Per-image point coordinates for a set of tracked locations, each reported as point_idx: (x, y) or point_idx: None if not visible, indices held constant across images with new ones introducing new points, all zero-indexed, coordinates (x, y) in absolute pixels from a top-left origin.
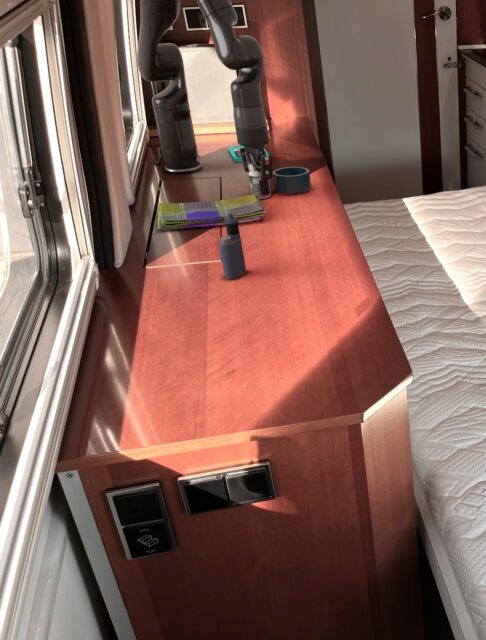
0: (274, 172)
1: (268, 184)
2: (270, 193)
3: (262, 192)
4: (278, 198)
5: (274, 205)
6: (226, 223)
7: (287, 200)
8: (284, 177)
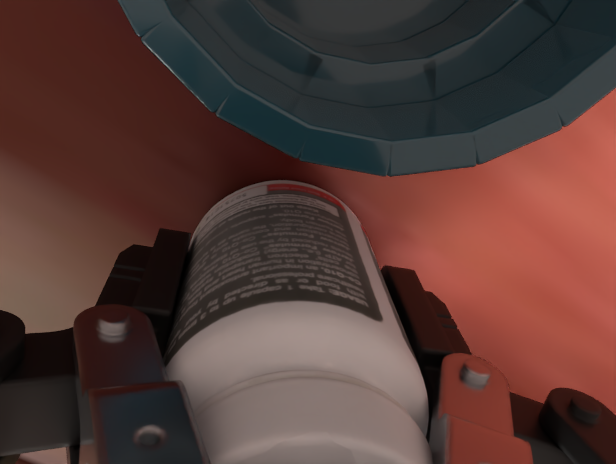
0: (236, 93)
1: (437, 323)
2: (355, 219)
3: None
4: (453, 191)
5: (572, 327)
6: None
7: (575, 175)
8: (546, 131)
